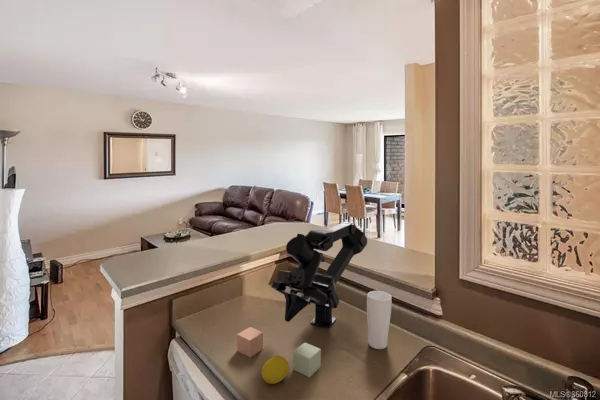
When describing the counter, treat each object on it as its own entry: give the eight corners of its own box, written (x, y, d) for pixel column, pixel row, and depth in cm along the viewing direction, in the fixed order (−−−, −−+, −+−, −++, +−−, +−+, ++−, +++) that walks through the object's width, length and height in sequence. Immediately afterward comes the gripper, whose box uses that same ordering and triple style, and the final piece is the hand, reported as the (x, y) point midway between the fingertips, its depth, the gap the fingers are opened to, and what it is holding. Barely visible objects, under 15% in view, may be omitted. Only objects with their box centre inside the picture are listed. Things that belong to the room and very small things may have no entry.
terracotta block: (250, 342, 93) (250, 326, 92) (262, 349, 90) (262, 332, 89) (237, 351, 89) (237, 334, 88) (250, 357, 86) (249, 340, 85)
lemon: (278, 365, 82) (254, 381, 76) (279, 346, 81) (255, 361, 75) (294, 377, 78) (271, 394, 72) (296, 356, 77) (272, 373, 71)
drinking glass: (391, 341, 93) (393, 292, 92) (387, 354, 87) (389, 302, 86) (368, 336, 96) (370, 288, 94) (362, 348, 90) (364, 297, 88)
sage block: (304, 359, 85) (304, 342, 84) (320, 367, 82) (320, 349, 81) (293, 369, 81) (293, 351, 80) (309, 377, 78) (309, 358, 77)
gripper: (269, 254, 98) (247, 304, 91) (311, 259, 83) (288, 318, 77) (294, 270, 103) (274, 317, 97) (336, 277, 89) (317, 333, 83)
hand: (286, 321), depth 89 cm, fingers closed
